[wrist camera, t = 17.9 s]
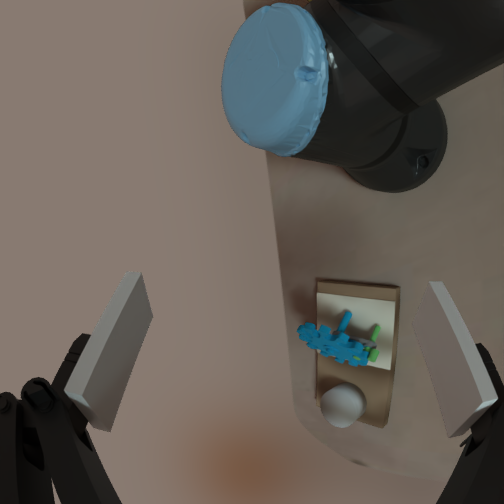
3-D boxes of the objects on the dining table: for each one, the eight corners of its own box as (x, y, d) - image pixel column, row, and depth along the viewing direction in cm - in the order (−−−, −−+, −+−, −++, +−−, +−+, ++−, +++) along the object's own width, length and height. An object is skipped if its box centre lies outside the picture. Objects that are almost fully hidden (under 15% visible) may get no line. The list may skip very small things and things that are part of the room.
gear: (307, 355, 44) (283, 324, 38) (325, 320, 47) (305, 284, 40) (377, 379, 37) (368, 352, 31) (393, 340, 40) (388, 304, 33)
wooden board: (323, 280, 46) (303, 285, 43) (400, 286, 37) (385, 293, 34) (321, 402, 47) (303, 413, 44) (387, 423, 38) (371, 439, 35)
